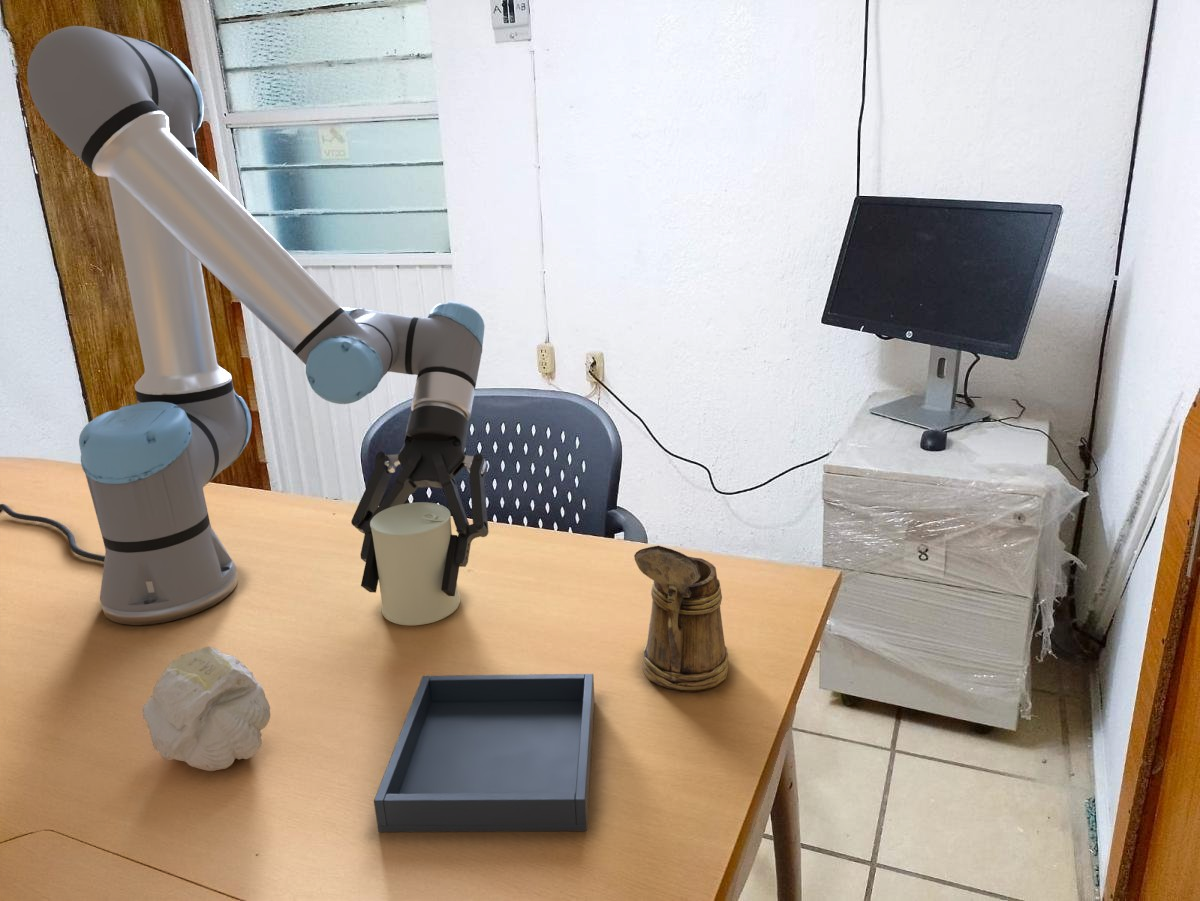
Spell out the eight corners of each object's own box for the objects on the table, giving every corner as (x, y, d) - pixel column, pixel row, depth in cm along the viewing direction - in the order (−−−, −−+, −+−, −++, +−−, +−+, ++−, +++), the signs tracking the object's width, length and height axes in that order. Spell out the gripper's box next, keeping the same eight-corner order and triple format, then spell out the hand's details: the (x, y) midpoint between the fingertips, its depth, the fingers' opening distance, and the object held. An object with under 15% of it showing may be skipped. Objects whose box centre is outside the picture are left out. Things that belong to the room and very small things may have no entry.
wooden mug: (614, 710, 79) (608, 540, 73) (657, 636, 91) (655, 484, 85) (705, 729, 76) (707, 553, 70) (737, 650, 88) (741, 494, 82)
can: (443, 629, 94) (432, 533, 90) (368, 622, 96) (354, 528, 92) (471, 589, 102) (462, 500, 98) (401, 584, 104) (390, 496, 100)
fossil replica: (234, 798, 70) (301, 730, 79) (229, 712, 68) (298, 653, 77) (113, 769, 73) (192, 707, 82) (103, 685, 70) (186, 631, 80)
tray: (378, 832, 66) (373, 801, 65) (425, 702, 81) (422, 675, 80) (586, 831, 65) (585, 799, 64) (594, 700, 81) (593, 673, 80)
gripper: (529, 431, 106) (507, 604, 97) (370, 428, 109) (333, 595, 100) (516, 403, 99) (490, 586, 90) (347, 401, 103) (305, 577, 93)
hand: (407, 590), depth 95 cm, fingers closed on can, 9 cm apart
